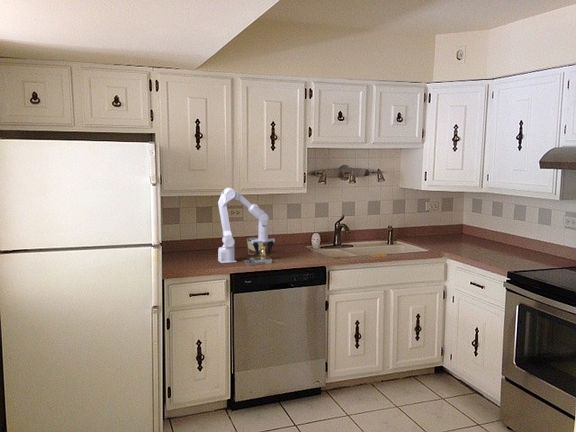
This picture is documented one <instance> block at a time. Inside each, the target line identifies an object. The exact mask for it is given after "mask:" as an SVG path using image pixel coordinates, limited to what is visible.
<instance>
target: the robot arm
mask: <svg viewBox="0 0 576 432" xmlns="http://www.w3.org/2000/svg"><path fill="white" fill-rule="evenodd" d="M231 200H236V201H239V202H240V203H242V204H243V206H245V207H247V210H248V212H249V213H250V214H251V215H253V216H254V217H255V218H256V219H257V220H258V224H257V226H258V227H257V228H258V232H257V233H258V234H257V238H258V239H256V240H251V243H252V244H253V246H254V248H255V251H256V256H259V255H258V248H259V244H258V243H264V244H265V243H267V255H271V251H272V248H273V246H274V243H275V242H276V240H275V238H269V233H268V232H269V220H270V218H269V215H268V213H265V211H264V210H263V209H261V208H260V207H259V205H258V204H256V203H251V202H250V201H249V200H248V199H247V198H245V196H244V195H242V194H241V193H239V192H238V191H236V190H235V189H233V188H231V187H225V188H224V189H223V191H221V194H220V196H219V199H218V201H217V205H218V210H219V211H218V212H219V217H220V223H221V227H222V229H221V230H222V239H221V241H222V243H223V245H222V246H221V247H218V250H217V253H218V254H217V256H218V257H217V261H218V262H219V263H221V264H229V263H230V264H231V263H237V260H236V259H235V242H236V241H235V238H233V234H232V231H231V224H230V218H229V217H230V216H229V212H228V207H227V206H228V204H229V203H230V201H231Z"/></svg>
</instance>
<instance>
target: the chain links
mask: <svg viewBox="0 0 576 432" xmlns="http://www.w3.org/2000/svg"><path fill="white" fill-rule="evenodd" d="M272 263H273V259H272V258H270V257H269V256H265V257H261V256H257V257H249V259H246V260H245V259H243V264H246V265H247V266H256V265H267V264H272Z"/></svg>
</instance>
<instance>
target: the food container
mask: <svg viewBox="0 0 576 432" xmlns="http://www.w3.org/2000/svg"><path fill="white" fill-rule="evenodd" d="M256 239H258V237H248V238H247V239H246V242H247V252H248V255H254V254H256V251H255V248H254V246H253V244H252V243H251V240H256ZM258 244H259V248H258V255H257V256H261V249H260V247H261V246H264V244H265V243H258Z"/></svg>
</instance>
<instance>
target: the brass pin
mask: <svg viewBox="0 0 576 432" xmlns="http://www.w3.org/2000/svg"><path fill="white" fill-rule="evenodd" d="M260 249H261V255H260V257H266V249H267V246H264V245H263V246H261V247H260Z"/></svg>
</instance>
